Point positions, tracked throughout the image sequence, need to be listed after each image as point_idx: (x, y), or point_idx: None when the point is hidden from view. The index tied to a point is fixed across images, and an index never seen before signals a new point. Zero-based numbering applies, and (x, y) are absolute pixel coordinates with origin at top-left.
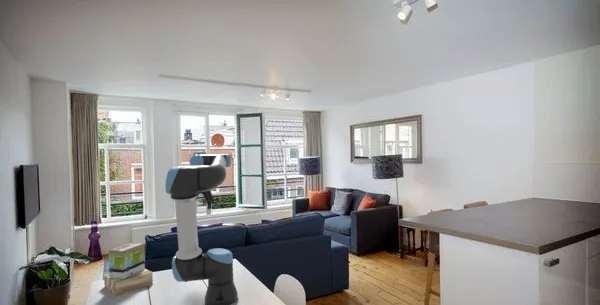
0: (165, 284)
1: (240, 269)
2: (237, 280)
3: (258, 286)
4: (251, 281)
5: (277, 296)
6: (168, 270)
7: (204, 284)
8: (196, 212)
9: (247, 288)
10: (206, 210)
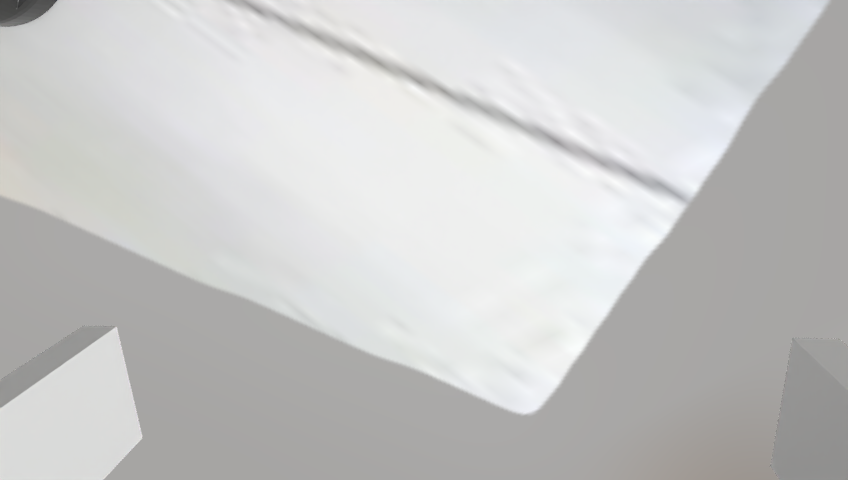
0: None
1: (319, 319)
2: (174, 181)
3: (11, 187)
4: (100, 216)
5: None
6: (811, 5)
7: (279, 8)
8: (774, 454)
9: (28, 131)
10: (11, 400)
